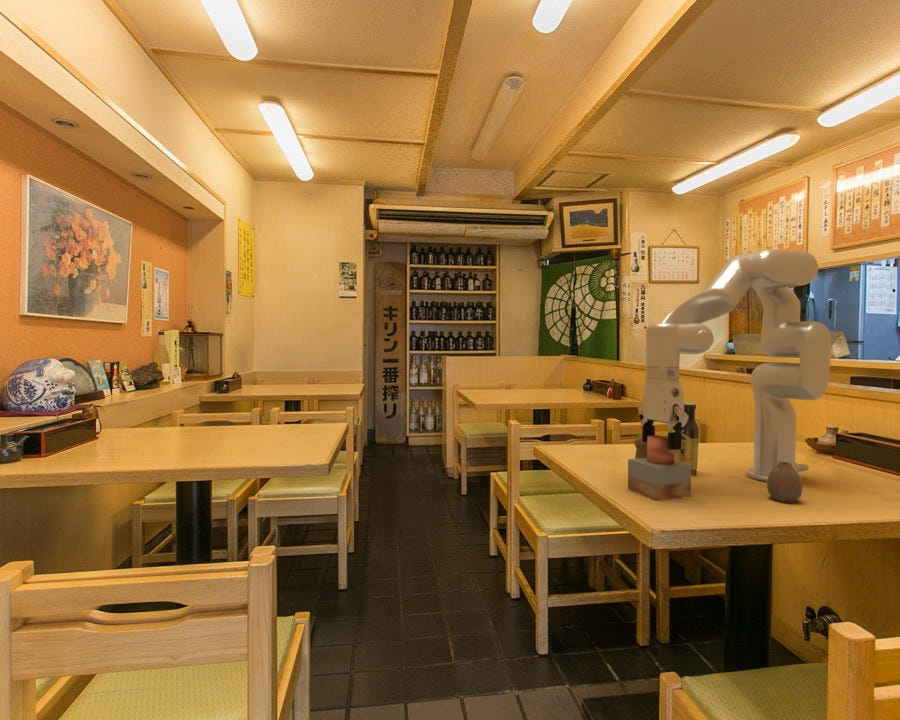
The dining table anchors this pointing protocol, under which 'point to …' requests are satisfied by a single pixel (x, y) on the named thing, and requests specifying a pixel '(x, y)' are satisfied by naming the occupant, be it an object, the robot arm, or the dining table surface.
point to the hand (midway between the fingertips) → (660, 445)
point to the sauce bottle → (689, 440)
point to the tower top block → (659, 472)
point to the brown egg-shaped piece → (784, 483)
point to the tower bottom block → (659, 489)
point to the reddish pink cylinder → (659, 450)
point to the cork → (640, 448)
